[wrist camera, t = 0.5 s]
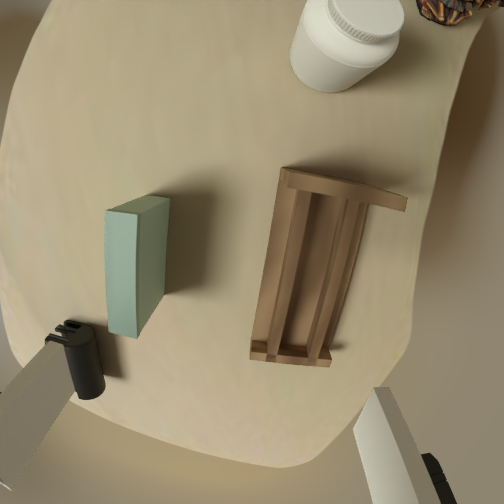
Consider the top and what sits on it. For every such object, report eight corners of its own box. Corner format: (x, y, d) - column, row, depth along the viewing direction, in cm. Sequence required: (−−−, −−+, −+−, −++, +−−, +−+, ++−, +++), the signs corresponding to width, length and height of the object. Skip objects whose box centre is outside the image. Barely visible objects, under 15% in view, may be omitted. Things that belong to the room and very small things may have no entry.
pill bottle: (372, 79, 28) (440, 39, 14) (311, 105, 29) (351, 68, 15) (336, 23, 26) (379, -45, 12) (275, 46, 27) (285, -25, 13)
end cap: (113, 377, 42) (96, 405, 35) (76, 367, 42) (58, 392, 35) (103, 325, 39) (81, 351, 32) (64, 316, 39) (40, 339, 32)
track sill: (250, 343, 38) (247, 396, 29) (281, 167, 32) (289, 172, 22) (324, 351, 39) (339, 403, 29) (368, 185, 32) (407, 197, 22)
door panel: (141, 290, 37) (108, 332, 27) (145, 194, 33) (105, 210, 23) (164, 295, 37) (137, 339, 27) (171, 197, 33) (137, 214, 23)
